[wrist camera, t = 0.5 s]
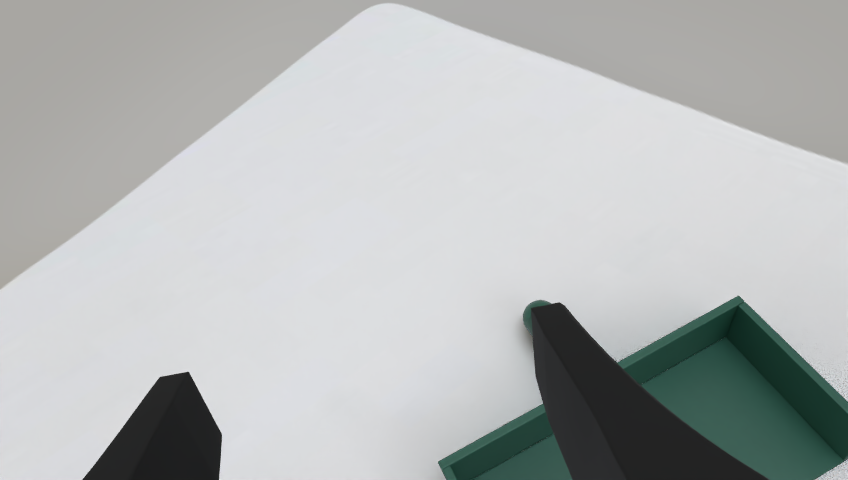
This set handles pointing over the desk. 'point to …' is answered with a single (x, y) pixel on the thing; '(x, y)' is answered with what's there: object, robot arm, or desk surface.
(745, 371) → the dustpan
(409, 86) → the desk surface
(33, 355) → the desk surface
